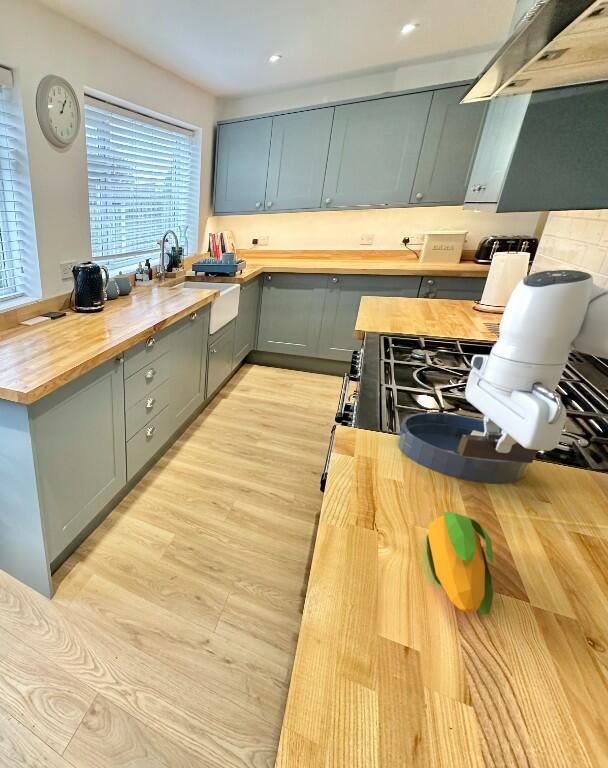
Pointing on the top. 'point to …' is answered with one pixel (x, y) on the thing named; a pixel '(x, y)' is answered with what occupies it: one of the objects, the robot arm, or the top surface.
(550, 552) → the top surface
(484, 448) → the brown bar
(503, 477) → the bowl
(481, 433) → the cream block
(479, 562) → the corn
